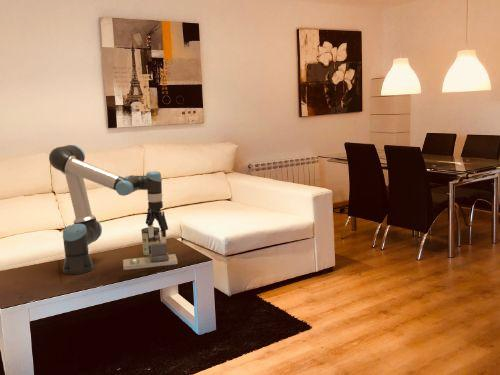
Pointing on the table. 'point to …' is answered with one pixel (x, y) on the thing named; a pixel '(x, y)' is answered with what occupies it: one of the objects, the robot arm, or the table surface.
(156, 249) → the wing knob
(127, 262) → the base plate
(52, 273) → the table surface
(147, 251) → the coffee can
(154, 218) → the robot arm
